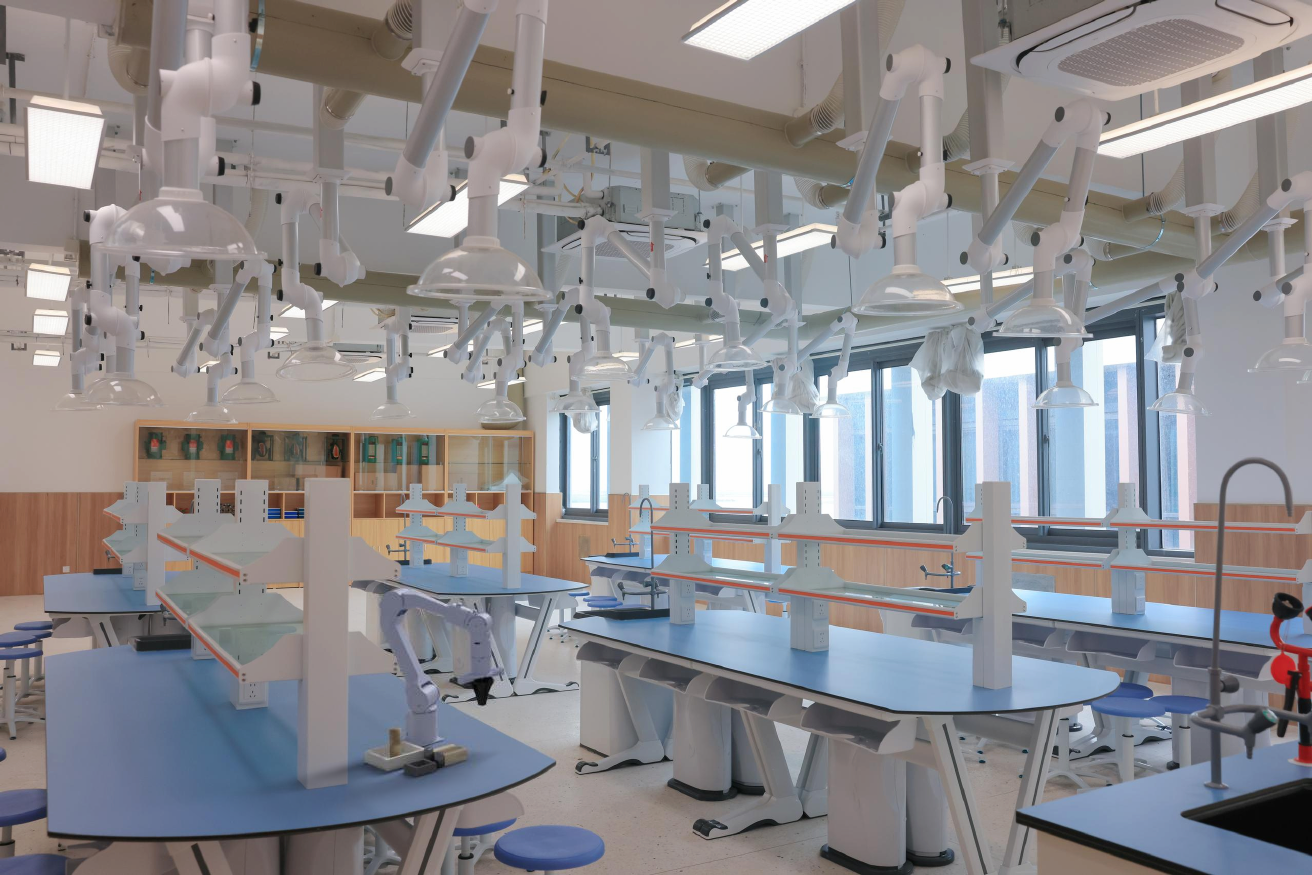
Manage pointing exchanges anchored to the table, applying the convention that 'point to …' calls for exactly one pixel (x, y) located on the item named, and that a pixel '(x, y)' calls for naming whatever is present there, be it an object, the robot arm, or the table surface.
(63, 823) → the table surface
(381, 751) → the tray
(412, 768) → the dowel collar
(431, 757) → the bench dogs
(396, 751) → the dowel
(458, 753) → the maple block
